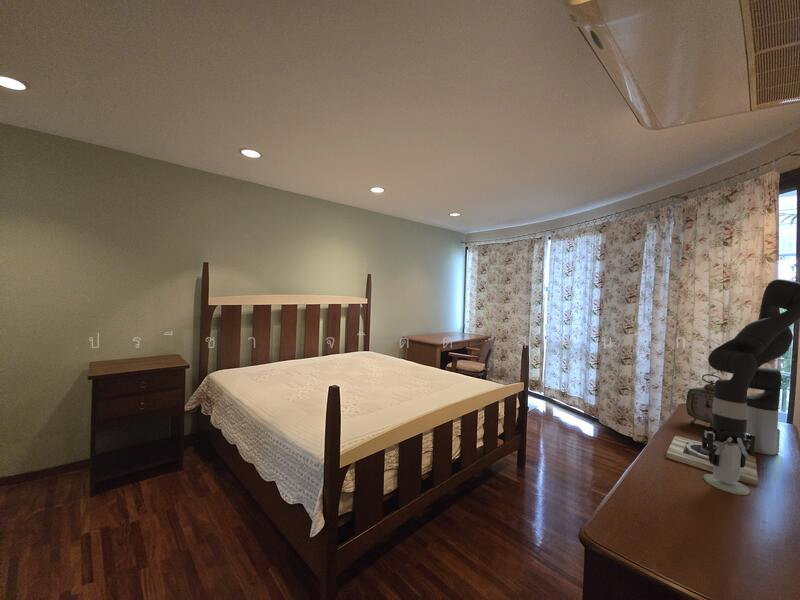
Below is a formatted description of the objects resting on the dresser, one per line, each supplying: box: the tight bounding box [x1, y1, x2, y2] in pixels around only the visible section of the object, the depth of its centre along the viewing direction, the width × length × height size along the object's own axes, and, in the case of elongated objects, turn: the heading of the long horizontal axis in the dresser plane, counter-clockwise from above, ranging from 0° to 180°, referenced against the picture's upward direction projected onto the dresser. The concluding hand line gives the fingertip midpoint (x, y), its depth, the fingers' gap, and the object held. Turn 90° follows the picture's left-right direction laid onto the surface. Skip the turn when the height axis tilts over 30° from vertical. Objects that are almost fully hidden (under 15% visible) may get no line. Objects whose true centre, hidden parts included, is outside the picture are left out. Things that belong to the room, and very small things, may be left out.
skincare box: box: [712, 441, 741, 484], centre depth 97 cm, size 6×4×12 cm
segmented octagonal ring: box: [685, 443, 715, 461], centre depth 113 cm, size 13×13×3 cm
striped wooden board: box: [666, 435, 759, 487], centre depth 113 cm, size 22×22×2 cm
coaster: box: [703, 473, 751, 496], centre depth 97 cm, size 10×10×1 cm
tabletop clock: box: [685, 373, 722, 428], centre depth 142 cm, size 14×9×25 cm, turn 23°
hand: (726, 465), depth 97 cm, fingers closed on skincare box, 7 cm apart
